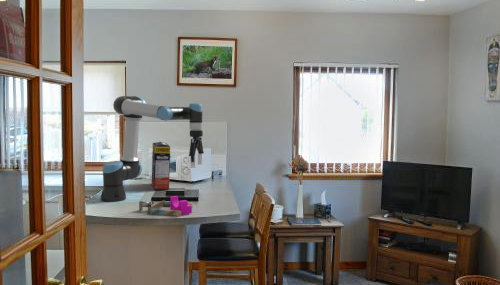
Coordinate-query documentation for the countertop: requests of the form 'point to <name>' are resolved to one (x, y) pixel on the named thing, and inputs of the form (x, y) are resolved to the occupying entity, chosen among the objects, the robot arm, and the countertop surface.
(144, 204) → the winch drum
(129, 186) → the countertop surface
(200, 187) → the countertop surface
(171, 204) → the toy block
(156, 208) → the rack bay
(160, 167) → the cereal box
